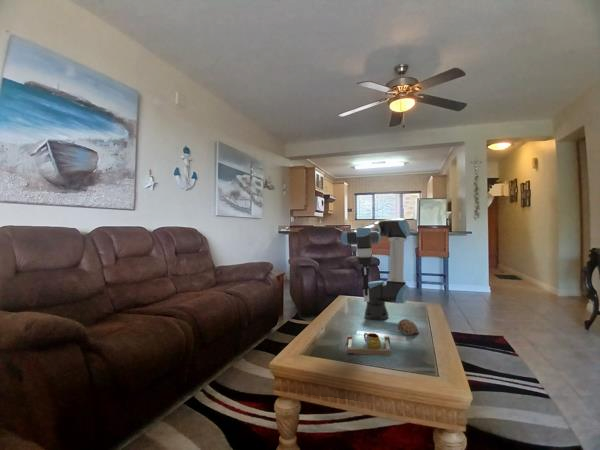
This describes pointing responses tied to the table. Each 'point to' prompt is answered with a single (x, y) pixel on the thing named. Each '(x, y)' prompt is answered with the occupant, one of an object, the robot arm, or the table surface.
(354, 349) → the pocket
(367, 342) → the mug
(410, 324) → the seashell
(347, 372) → the table surface
